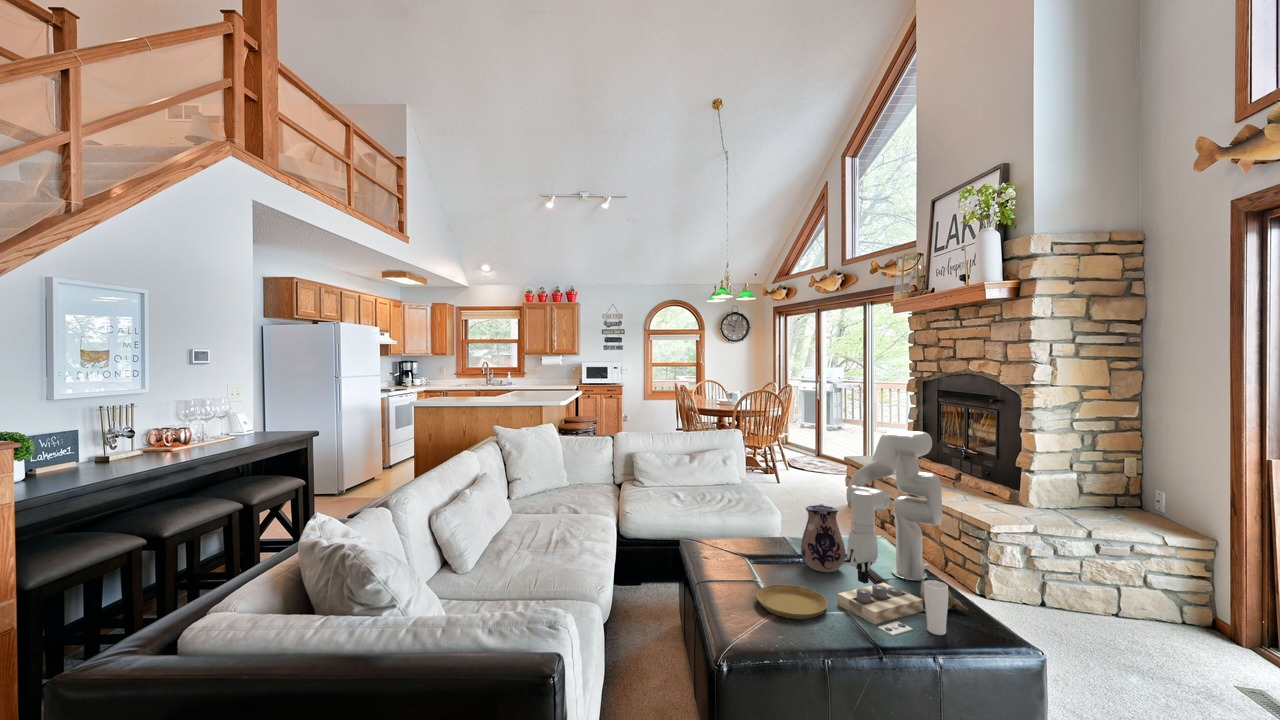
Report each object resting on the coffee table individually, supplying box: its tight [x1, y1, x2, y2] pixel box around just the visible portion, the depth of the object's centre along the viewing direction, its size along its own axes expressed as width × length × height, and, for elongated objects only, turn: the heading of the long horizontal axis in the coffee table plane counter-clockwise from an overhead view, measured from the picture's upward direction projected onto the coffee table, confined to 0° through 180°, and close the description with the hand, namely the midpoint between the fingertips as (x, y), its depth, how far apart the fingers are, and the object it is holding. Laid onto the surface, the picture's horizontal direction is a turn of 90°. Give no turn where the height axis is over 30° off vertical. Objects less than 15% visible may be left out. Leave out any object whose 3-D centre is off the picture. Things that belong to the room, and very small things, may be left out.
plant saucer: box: [755, 583, 829, 620], centre depth 188 cm, size 24×24×3 cm
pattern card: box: [877, 620, 914, 637], centre depth 172 cm, size 9×6×1 cm, turn 115°
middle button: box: [871, 584, 887, 601], centre depth 187 cm, size 5×5×5 cm
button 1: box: [856, 588, 871, 605], centre depth 184 cm, size 5×5×5 cm
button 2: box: [888, 586, 903, 597], centre depth 190 cm, size 5×5×5 cm
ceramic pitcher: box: [800, 503, 847, 573], centre depth 226 cm, size 18×21×25 cm
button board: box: [837, 582, 924, 625], centre depth 187 cm, size 23×16×4 cm
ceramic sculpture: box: [919, 580, 970, 614], centre depth 187 cm, size 11×9×15 cm
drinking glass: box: [924, 579, 949, 636], centre depth 170 cm, size 7×7×15 cm
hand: (863, 581), depth 183 cm, fingers closed
